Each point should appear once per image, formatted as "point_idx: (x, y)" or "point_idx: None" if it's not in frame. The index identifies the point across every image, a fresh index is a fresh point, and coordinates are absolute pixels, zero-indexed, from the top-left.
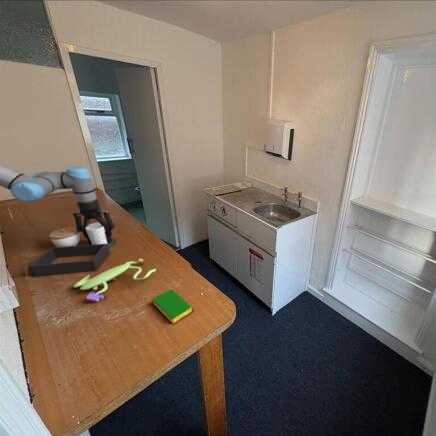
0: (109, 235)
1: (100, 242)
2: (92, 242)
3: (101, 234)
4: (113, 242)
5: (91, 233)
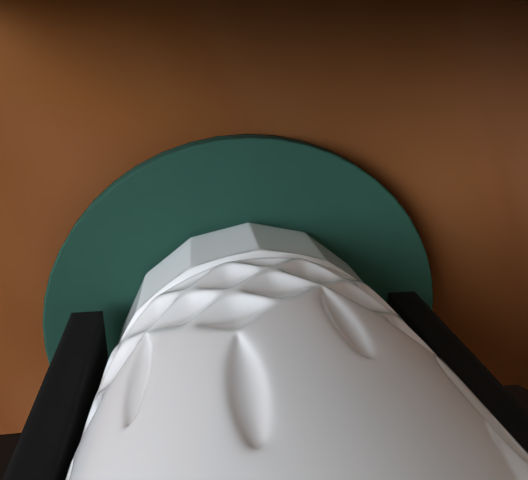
0: (5, 458)
1: (193, 268)
2: (349, 275)
3: (109, 430)
4: (48, 351)
5: (389, 410)
